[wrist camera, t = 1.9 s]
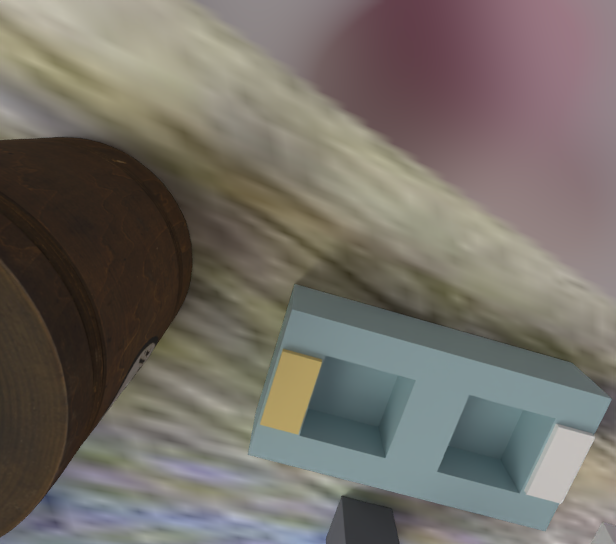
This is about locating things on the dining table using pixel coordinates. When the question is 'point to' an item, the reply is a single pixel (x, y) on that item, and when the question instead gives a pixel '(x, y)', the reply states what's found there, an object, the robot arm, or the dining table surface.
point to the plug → (362, 524)
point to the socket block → (424, 410)
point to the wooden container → (76, 299)
